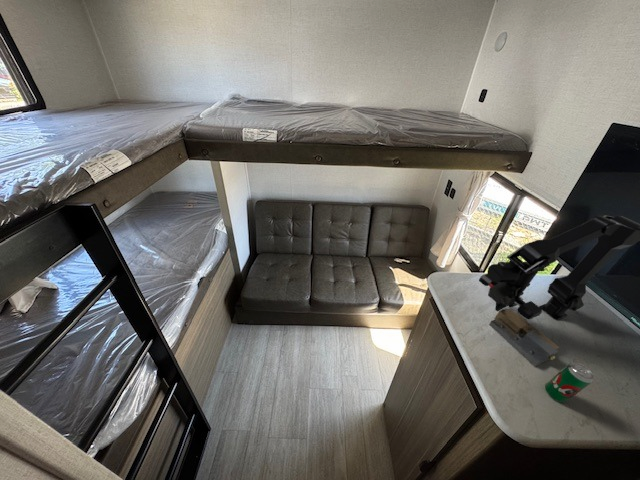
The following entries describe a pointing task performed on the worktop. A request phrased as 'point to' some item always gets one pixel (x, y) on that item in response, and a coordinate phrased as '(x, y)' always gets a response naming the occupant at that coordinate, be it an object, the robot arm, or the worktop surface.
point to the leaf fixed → (526, 343)
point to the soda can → (569, 382)
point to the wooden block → (519, 324)
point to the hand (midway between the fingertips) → (497, 310)
